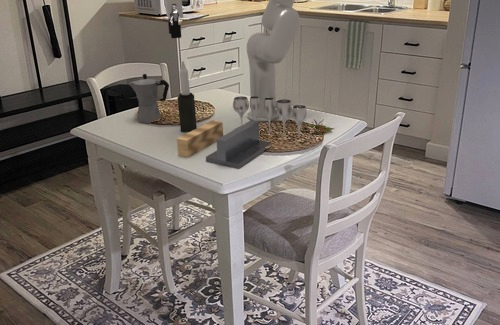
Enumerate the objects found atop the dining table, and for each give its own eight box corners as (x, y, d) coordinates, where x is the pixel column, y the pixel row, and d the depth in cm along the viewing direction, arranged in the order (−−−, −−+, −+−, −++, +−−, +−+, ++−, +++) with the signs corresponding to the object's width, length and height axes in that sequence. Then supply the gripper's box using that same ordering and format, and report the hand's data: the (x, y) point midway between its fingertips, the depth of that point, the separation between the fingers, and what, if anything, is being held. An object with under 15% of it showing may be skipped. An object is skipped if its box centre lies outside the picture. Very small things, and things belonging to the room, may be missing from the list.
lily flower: (294, 134, 177) (294, 121, 175) (310, 124, 186) (310, 112, 184) (325, 139, 170) (325, 127, 169) (340, 129, 180) (340, 117, 178)
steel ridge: (240, 140, 171) (239, 118, 168) (271, 146, 165) (271, 123, 162) (206, 161, 155) (204, 137, 152) (238, 168, 149) (237, 143, 146)
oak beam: (213, 136, 176) (212, 120, 174) (223, 138, 174) (222, 121, 172) (178, 156, 161) (176, 138, 158) (188, 158, 159) (186, 140, 156)
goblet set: (309, 139, 170) (309, 101, 165) (301, 144, 166) (301, 106, 161) (239, 127, 184) (238, 91, 179) (230, 131, 180) (229, 95, 174)
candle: (193, 132, 180) (187, 62, 170) (179, 131, 181) (173, 62, 171) (197, 127, 185) (192, 59, 175) (184, 127, 186) (178, 59, 176)
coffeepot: (129, 124, 191) (123, 77, 184) (136, 116, 200) (130, 71, 193) (169, 123, 190) (165, 76, 183) (174, 115, 199) (170, 70, 192)
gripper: (185, -19, 152) (189, 39, 159) (180, -21, 168) (183, 31, 175) (160, -18, 151) (165, 40, 158) (157, -21, 166) (162, 32, 173)
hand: (175, 35), depth 166 cm, fingers open, 9 cm apart
